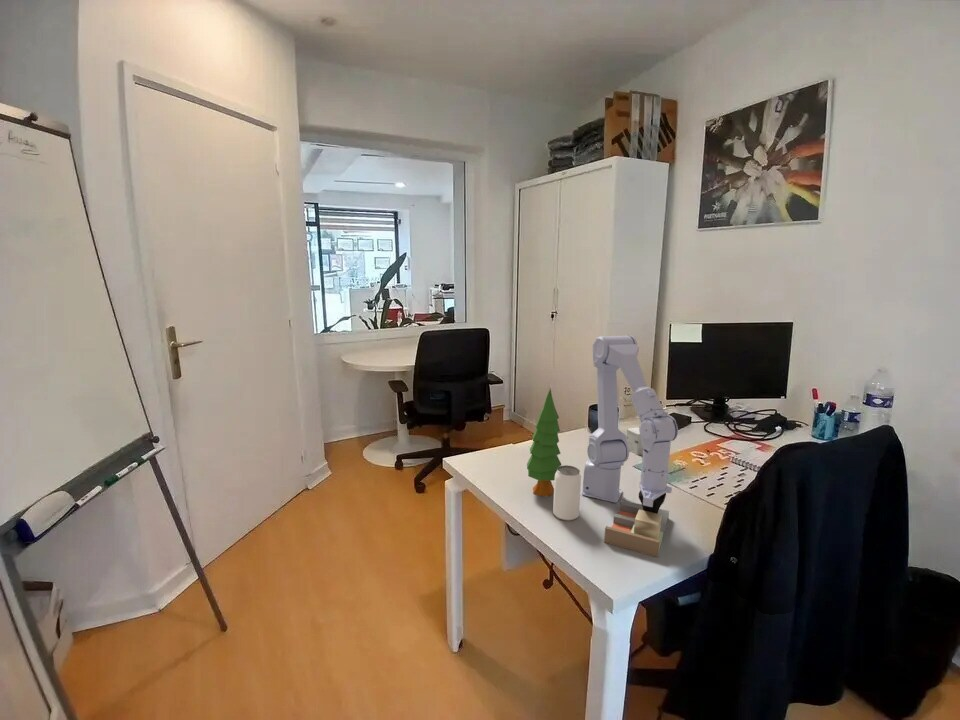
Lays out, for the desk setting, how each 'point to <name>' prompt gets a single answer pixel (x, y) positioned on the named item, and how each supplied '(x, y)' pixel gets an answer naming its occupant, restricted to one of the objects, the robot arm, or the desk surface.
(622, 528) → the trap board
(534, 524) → the desk surface
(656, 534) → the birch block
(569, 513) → the can
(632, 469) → the desk surface
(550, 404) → the decorative tree
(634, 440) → the skincare box
